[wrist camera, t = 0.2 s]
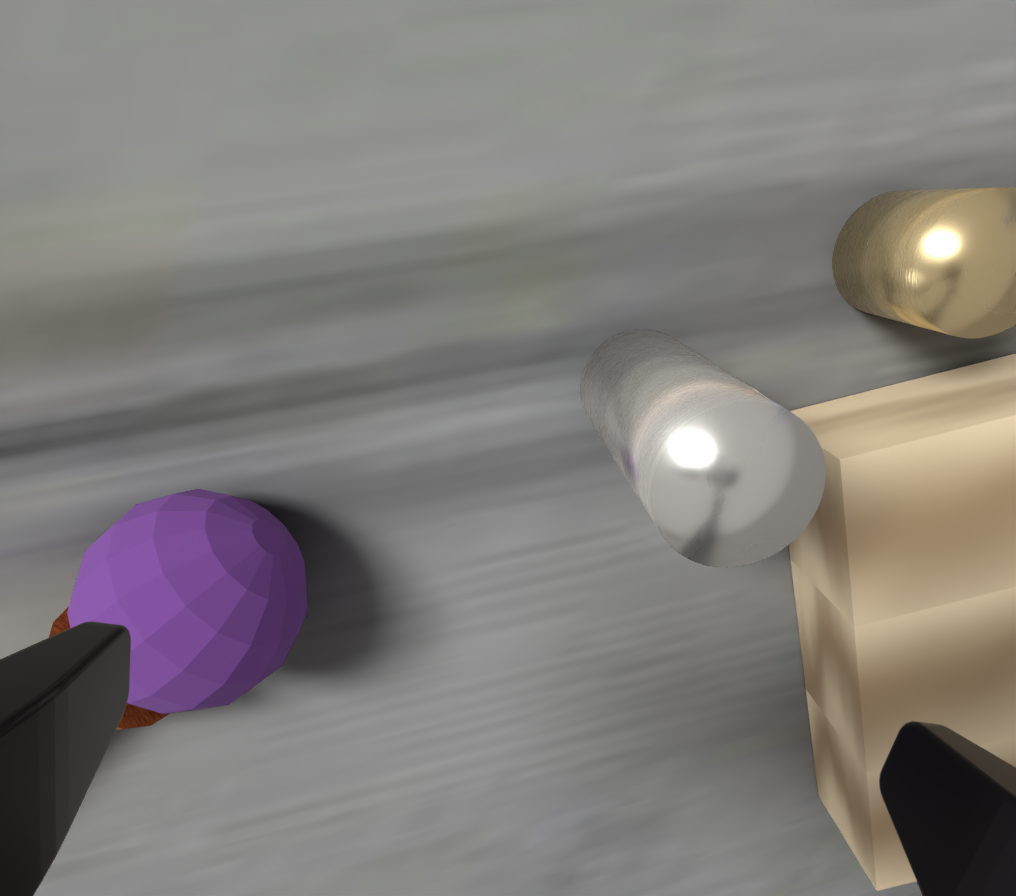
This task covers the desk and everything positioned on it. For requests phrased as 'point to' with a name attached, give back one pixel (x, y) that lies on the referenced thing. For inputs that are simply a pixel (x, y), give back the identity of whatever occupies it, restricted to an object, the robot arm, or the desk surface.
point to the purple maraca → (193, 599)
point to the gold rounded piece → (933, 259)
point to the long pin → (703, 449)
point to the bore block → (908, 586)
